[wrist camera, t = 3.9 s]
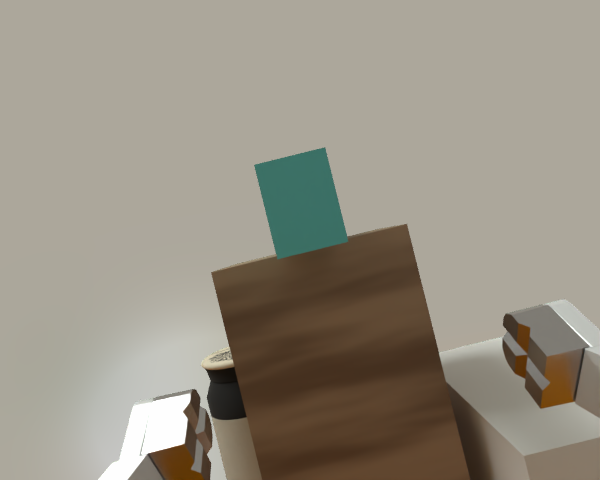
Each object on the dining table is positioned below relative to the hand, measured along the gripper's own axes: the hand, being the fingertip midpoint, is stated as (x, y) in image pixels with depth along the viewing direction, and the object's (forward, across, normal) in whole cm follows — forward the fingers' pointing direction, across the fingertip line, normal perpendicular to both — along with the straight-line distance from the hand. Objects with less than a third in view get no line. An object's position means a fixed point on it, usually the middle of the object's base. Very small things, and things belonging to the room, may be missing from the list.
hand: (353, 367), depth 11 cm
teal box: (+16, 0, -6) cm, 17 cm away
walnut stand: (+5, 0, -30) cm, 30 cm away
